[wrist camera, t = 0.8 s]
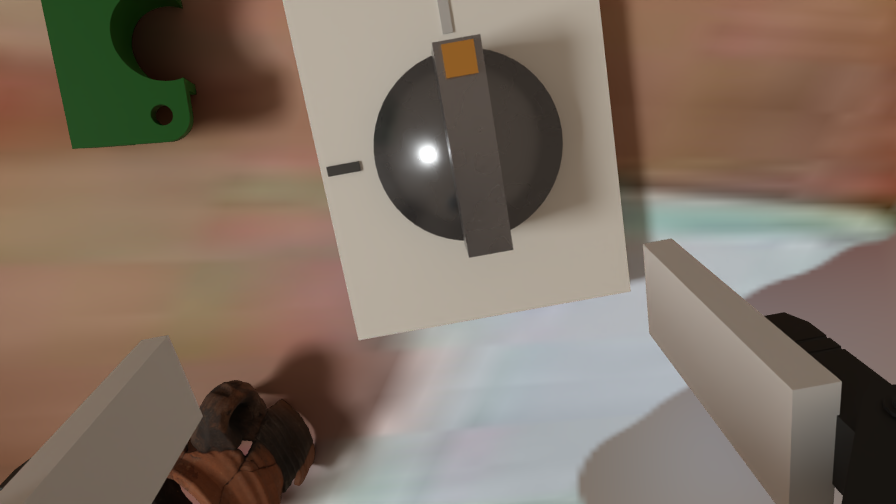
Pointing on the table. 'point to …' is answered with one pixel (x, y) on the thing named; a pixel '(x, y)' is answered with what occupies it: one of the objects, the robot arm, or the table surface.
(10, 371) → the table surface
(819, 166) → the table surface
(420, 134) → the dial
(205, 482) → the pottery mug
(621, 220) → the dial board
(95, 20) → the clamp
